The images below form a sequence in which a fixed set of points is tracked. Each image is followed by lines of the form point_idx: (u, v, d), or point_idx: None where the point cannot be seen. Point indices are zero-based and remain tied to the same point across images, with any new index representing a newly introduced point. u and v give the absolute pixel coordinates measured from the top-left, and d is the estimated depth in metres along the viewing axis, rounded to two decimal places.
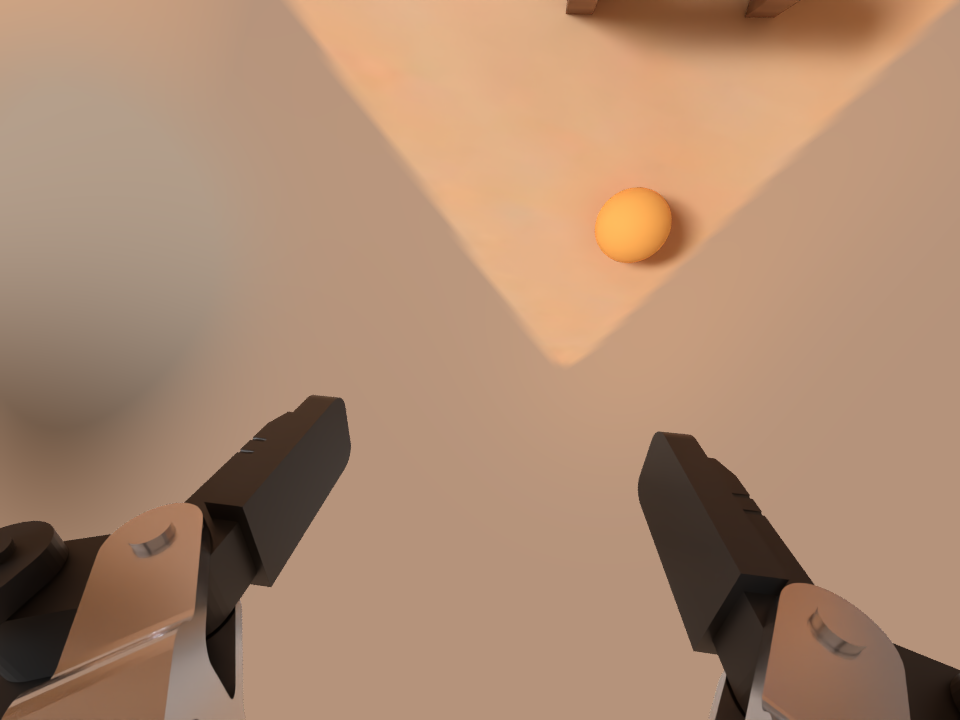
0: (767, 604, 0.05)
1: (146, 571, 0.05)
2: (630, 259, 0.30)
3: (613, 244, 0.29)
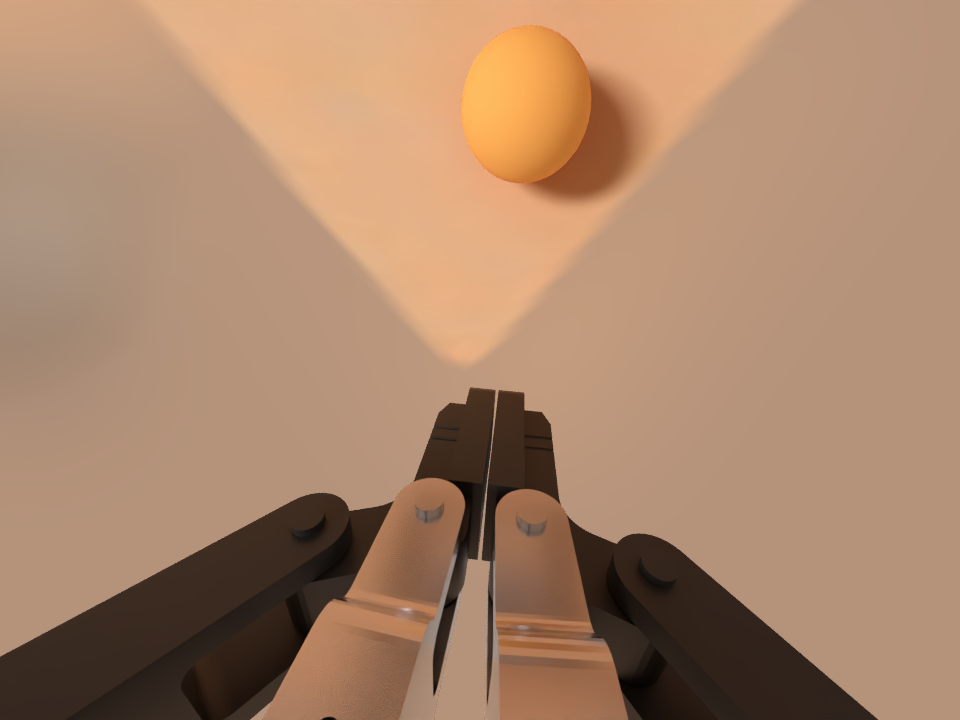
0: None
1: (418, 537, 0.05)
2: (519, 170, 0.17)
3: (483, 137, 0.16)
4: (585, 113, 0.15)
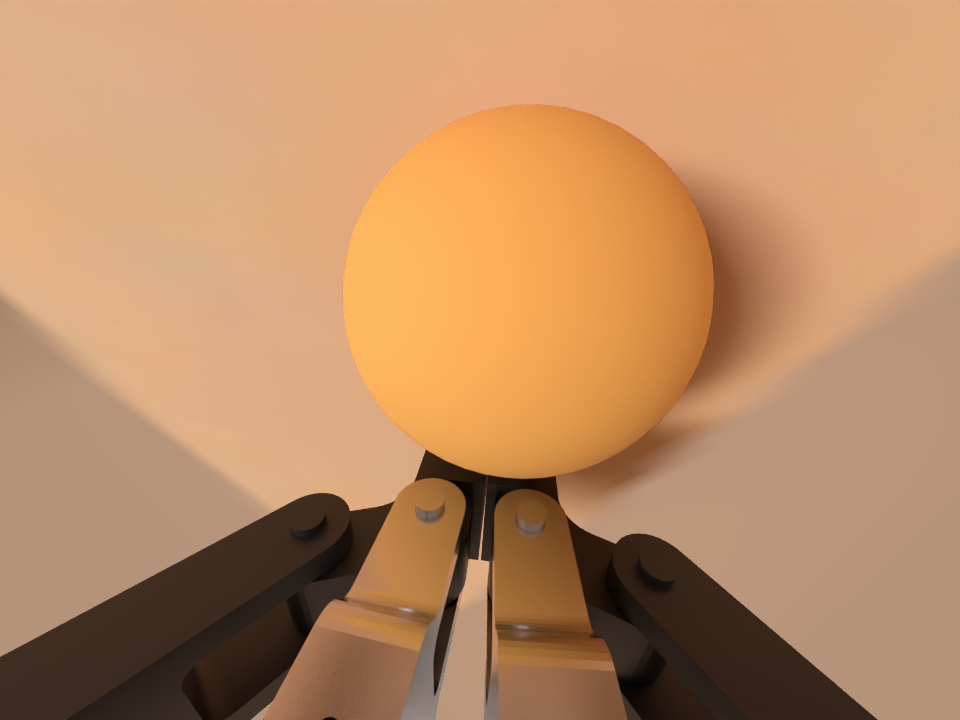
0: None
1: (418, 537, 0.05)
2: (503, 476, 0.06)
3: (390, 411, 0.05)
4: None
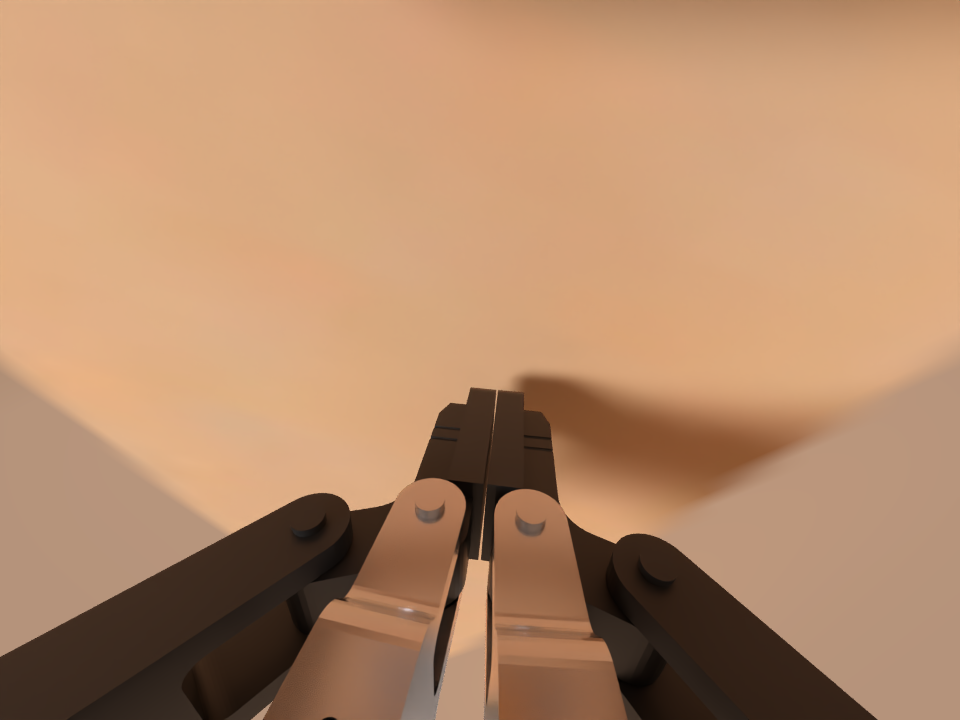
0: None
1: (418, 537, 0.05)
2: None
3: None
4: None
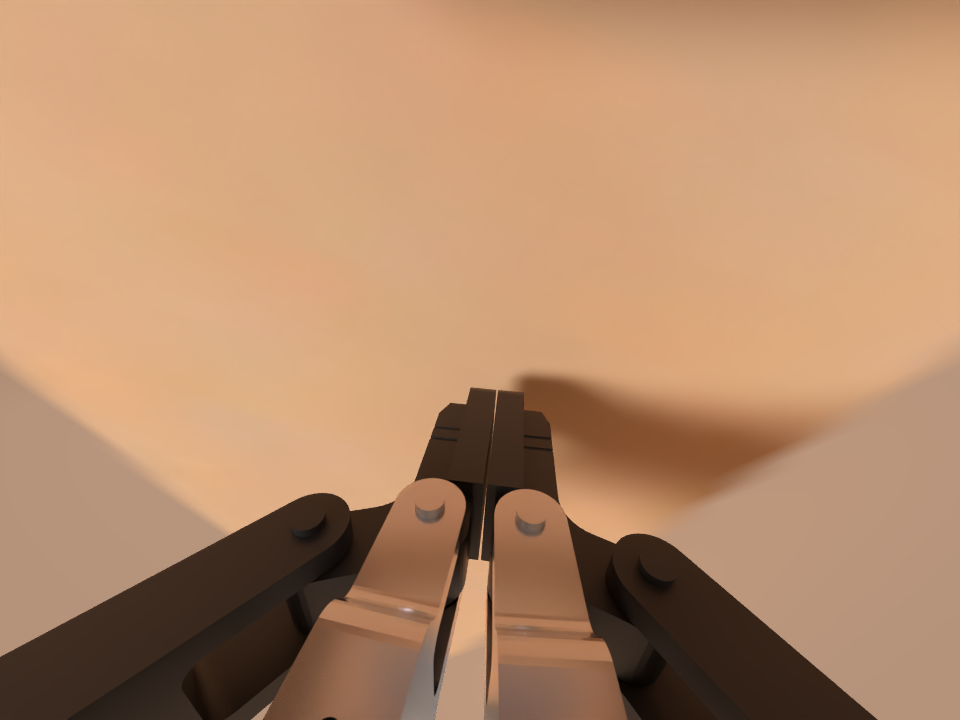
0: None
1: (418, 537, 0.05)
2: None
3: None
4: None
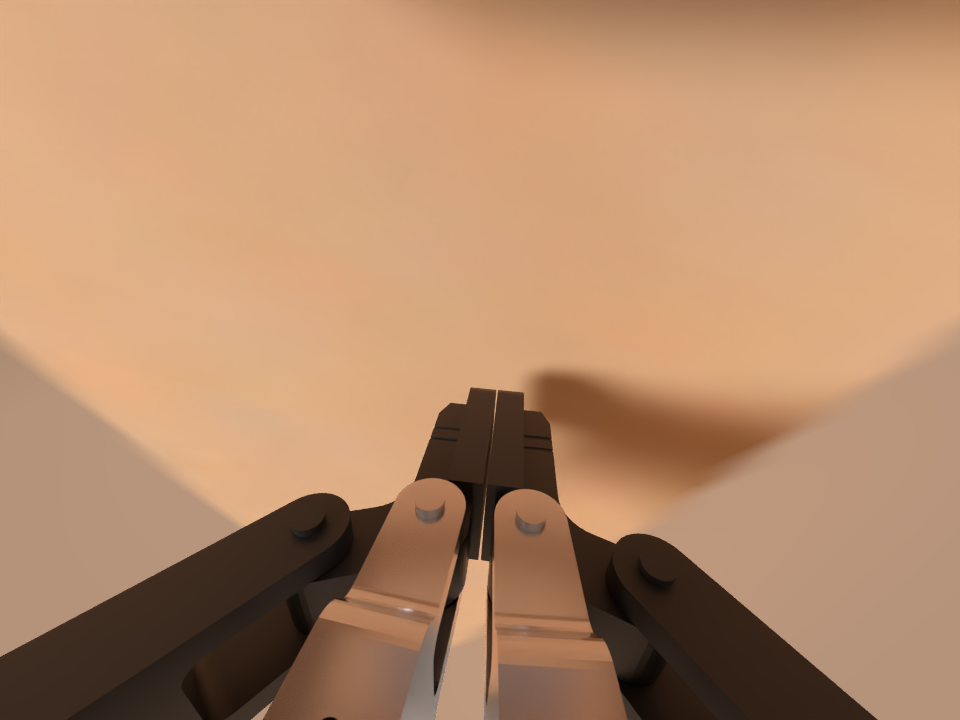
0: None
1: (418, 537, 0.05)
2: None
3: None
4: None
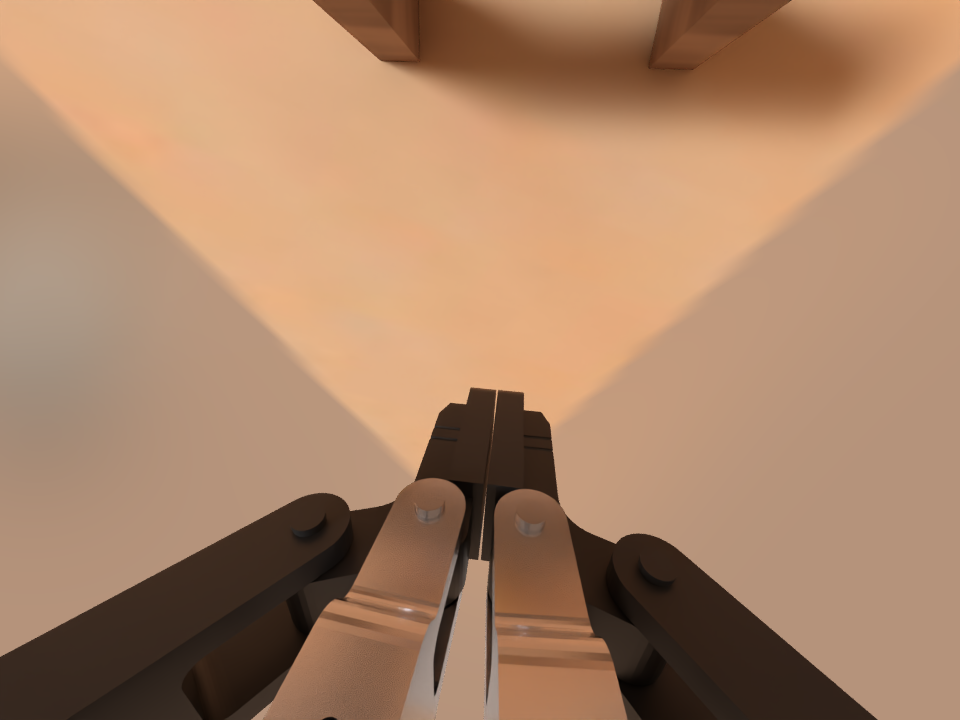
0: None
1: (419, 537, 0.05)
2: None
3: None
4: None
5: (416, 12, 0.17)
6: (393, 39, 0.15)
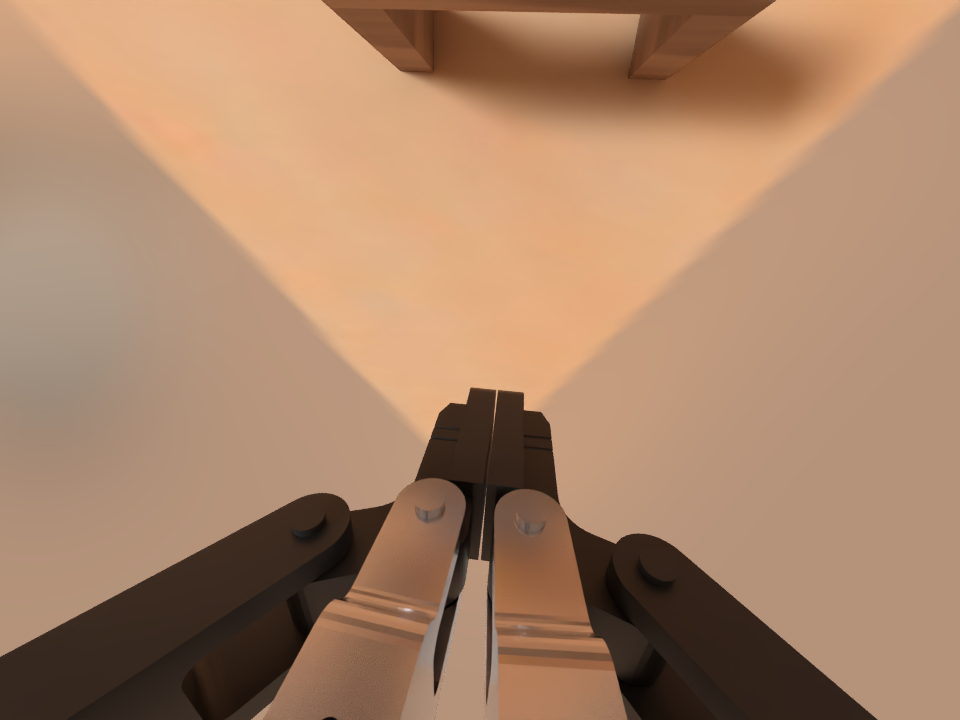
0: None
1: (418, 537, 0.05)
2: None
3: None
4: None
5: (431, 30, 0.20)
6: (414, 56, 0.18)
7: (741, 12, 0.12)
